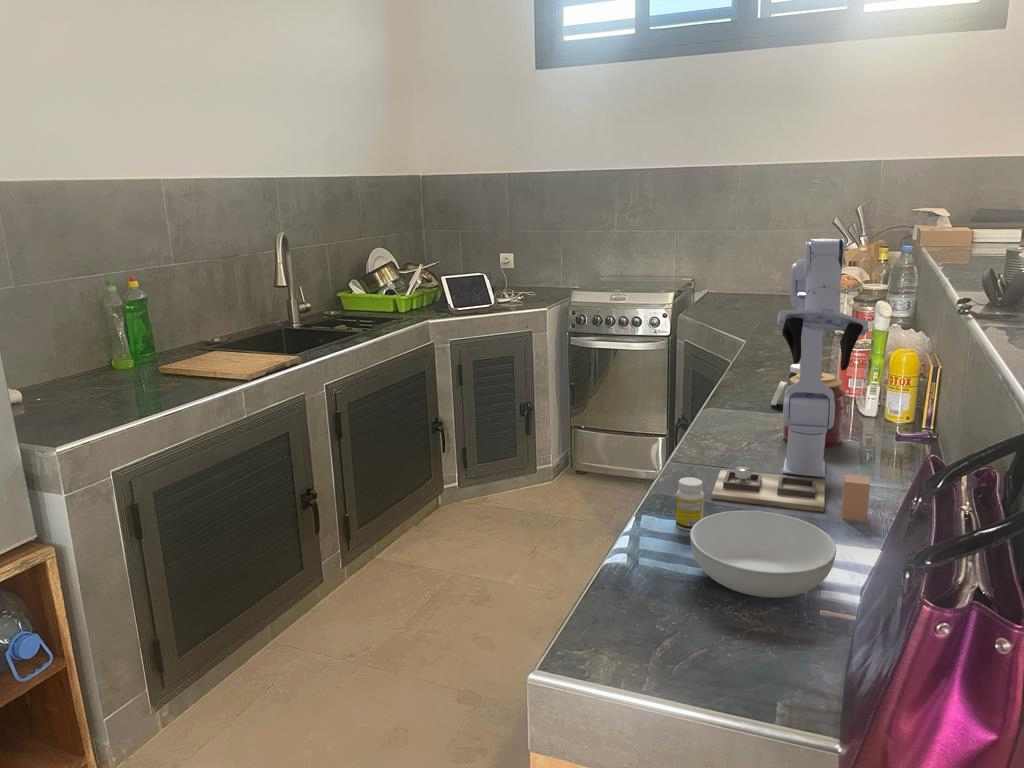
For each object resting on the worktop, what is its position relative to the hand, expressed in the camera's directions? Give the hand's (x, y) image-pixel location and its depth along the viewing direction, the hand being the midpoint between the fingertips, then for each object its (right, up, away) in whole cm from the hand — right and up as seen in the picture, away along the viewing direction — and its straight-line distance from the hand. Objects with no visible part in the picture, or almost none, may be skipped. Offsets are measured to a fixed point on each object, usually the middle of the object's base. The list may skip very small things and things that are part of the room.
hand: (820, 364), depth 131 cm
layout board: (-2, -24, +22) cm, 32 cm away
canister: (+18, -16, +52) cm, 58 cm away
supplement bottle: (-20, -28, +7) cm, 36 cm away
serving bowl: (-14, -33, -12) cm, 38 cm away
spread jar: (+24, -10, +79) cm, 83 cm away
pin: (-6, -24, +23) cm, 34 cm away
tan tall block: (+10, -27, +10) cm, 30 cm away
